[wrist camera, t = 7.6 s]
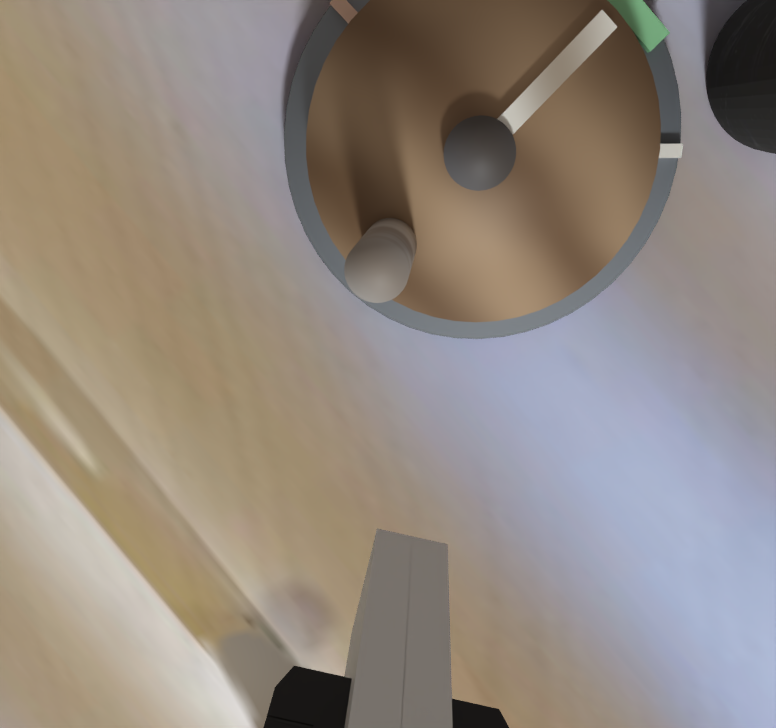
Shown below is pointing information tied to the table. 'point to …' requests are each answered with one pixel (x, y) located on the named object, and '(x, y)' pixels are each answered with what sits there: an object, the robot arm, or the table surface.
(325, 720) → the robot arm
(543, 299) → the dial
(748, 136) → the travel mug
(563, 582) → the table surface
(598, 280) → the gauge plate
